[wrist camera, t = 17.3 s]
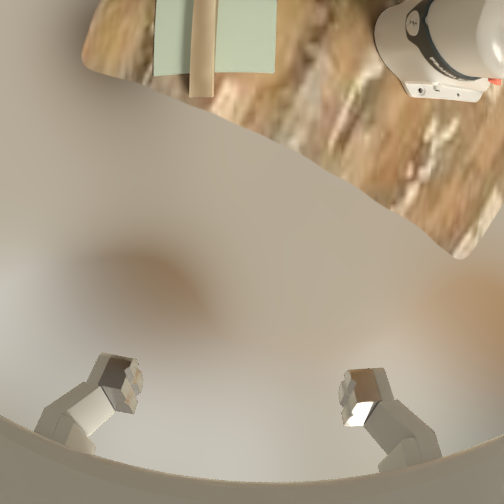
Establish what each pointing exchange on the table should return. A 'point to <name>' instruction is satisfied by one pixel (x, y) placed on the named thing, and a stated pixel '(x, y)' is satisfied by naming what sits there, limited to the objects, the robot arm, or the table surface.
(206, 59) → the beech bar
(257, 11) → the mat
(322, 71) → the table surface
